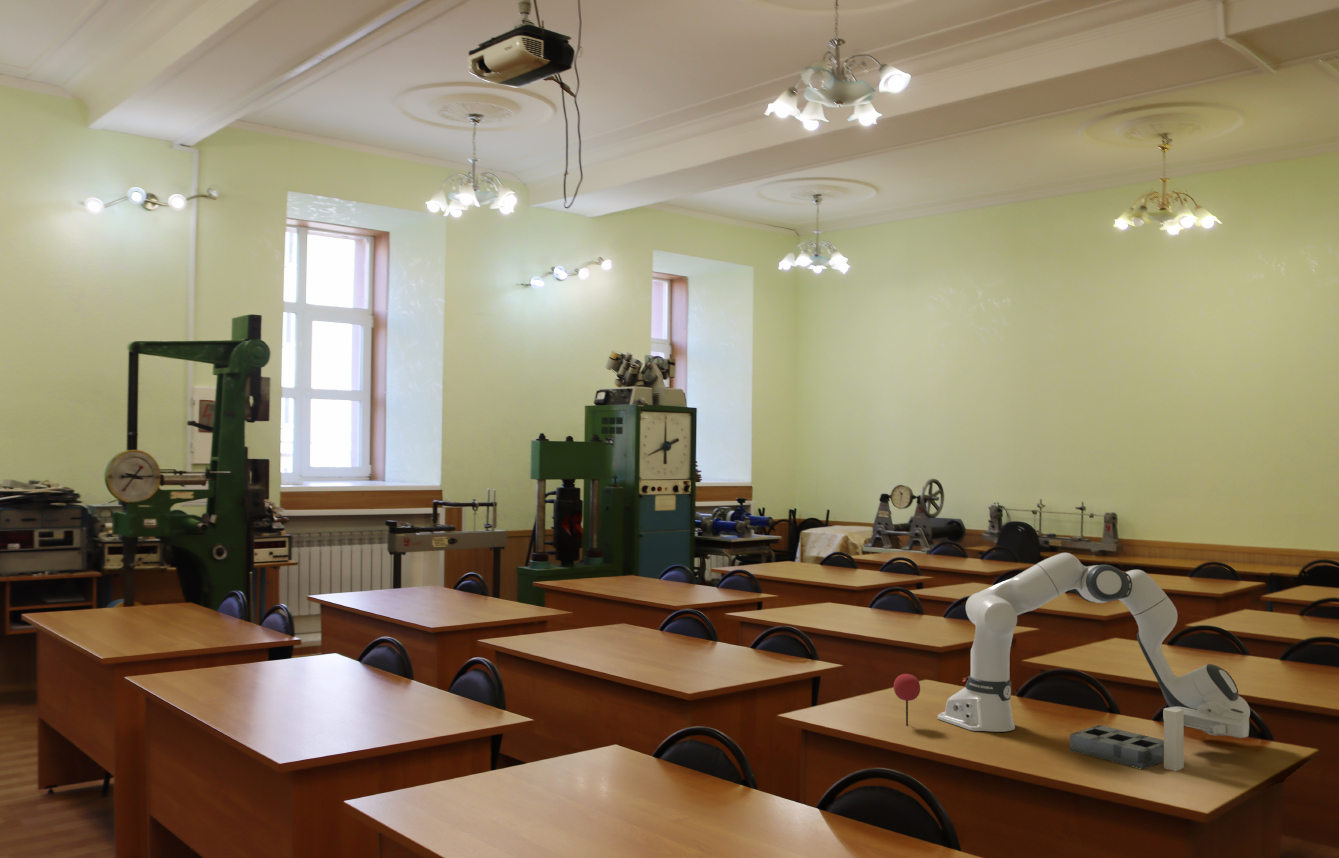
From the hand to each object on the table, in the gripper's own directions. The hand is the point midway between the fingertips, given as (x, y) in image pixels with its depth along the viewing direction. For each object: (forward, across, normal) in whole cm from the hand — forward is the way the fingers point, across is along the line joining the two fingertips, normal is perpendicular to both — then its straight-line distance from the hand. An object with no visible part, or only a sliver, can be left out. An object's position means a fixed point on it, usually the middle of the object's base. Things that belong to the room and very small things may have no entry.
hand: (1192, 725), depth 253 cm
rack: (+12, -14, +9) cm, 20 cm away
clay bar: (+12, 0, +9) cm, 15 cm away
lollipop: (+36, -66, +9) cm, 76 cm away
